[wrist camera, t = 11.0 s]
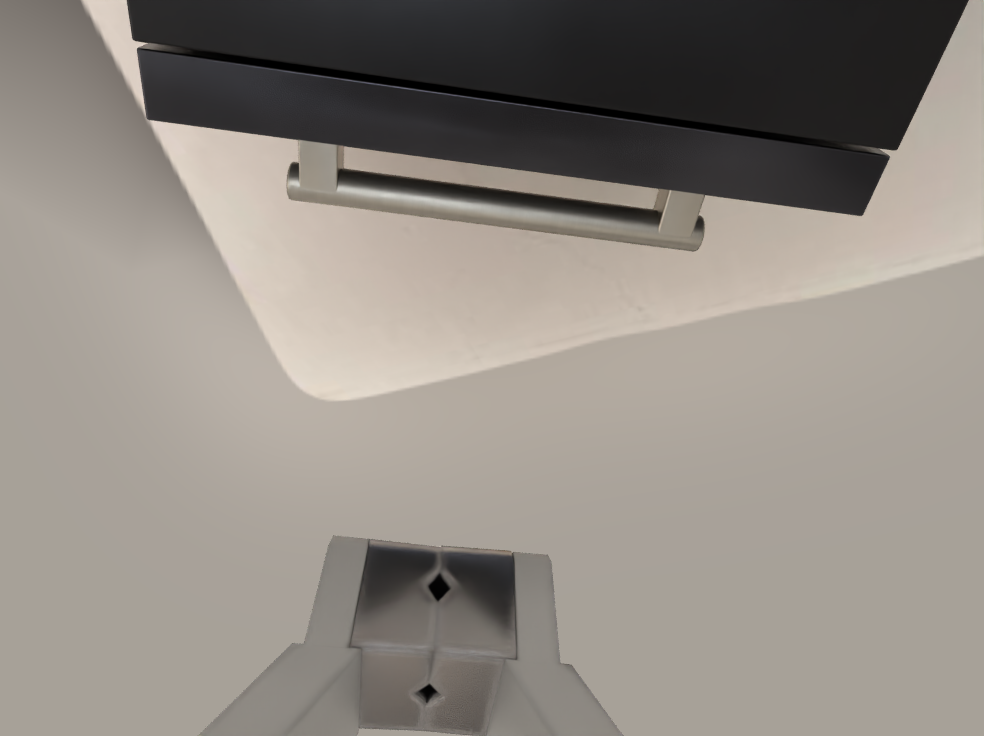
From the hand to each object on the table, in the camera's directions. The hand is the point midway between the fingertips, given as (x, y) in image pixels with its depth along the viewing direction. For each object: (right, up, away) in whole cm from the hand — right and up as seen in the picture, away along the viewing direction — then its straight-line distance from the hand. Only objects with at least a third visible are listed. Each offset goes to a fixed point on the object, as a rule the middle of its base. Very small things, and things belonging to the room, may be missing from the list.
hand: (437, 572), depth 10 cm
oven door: (+1, +15, +19) cm, 24 cm away
